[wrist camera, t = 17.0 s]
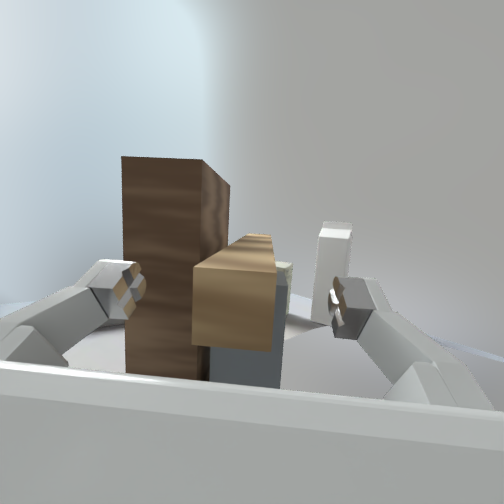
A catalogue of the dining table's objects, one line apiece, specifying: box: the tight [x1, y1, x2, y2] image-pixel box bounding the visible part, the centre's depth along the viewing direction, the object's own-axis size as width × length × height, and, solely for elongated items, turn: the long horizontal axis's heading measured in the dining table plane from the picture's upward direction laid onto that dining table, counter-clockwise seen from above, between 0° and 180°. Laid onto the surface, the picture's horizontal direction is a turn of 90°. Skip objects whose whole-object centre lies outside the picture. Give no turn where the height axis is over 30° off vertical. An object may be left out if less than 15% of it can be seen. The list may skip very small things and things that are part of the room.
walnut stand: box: [121, 156, 230, 382], centre depth 28 cm, size 14×7×26 cm, turn 176°
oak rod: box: [192, 234, 277, 352], centre depth 24 cm, size 28×4×4 cm, turn 176°
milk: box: [310, 221, 352, 327], centre depth 50 cm, size 6×6×22 cm
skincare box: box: [275, 261, 293, 315], centre depth 51 cm, size 6×4×12 cm
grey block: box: [209, 271, 288, 389], centre depth 25 cm, size 6×7×16 cm
